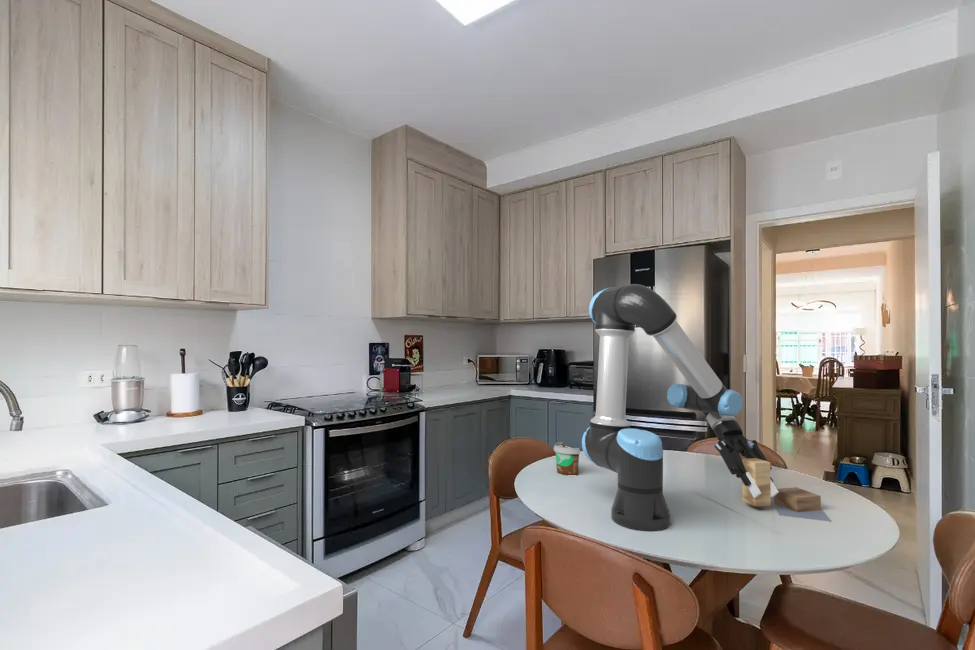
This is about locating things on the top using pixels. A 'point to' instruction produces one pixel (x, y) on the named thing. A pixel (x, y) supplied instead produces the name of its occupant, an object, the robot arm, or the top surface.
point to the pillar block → (757, 481)
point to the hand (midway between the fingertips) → (766, 495)
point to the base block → (798, 499)
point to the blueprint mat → (801, 513)
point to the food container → (566, 459)
